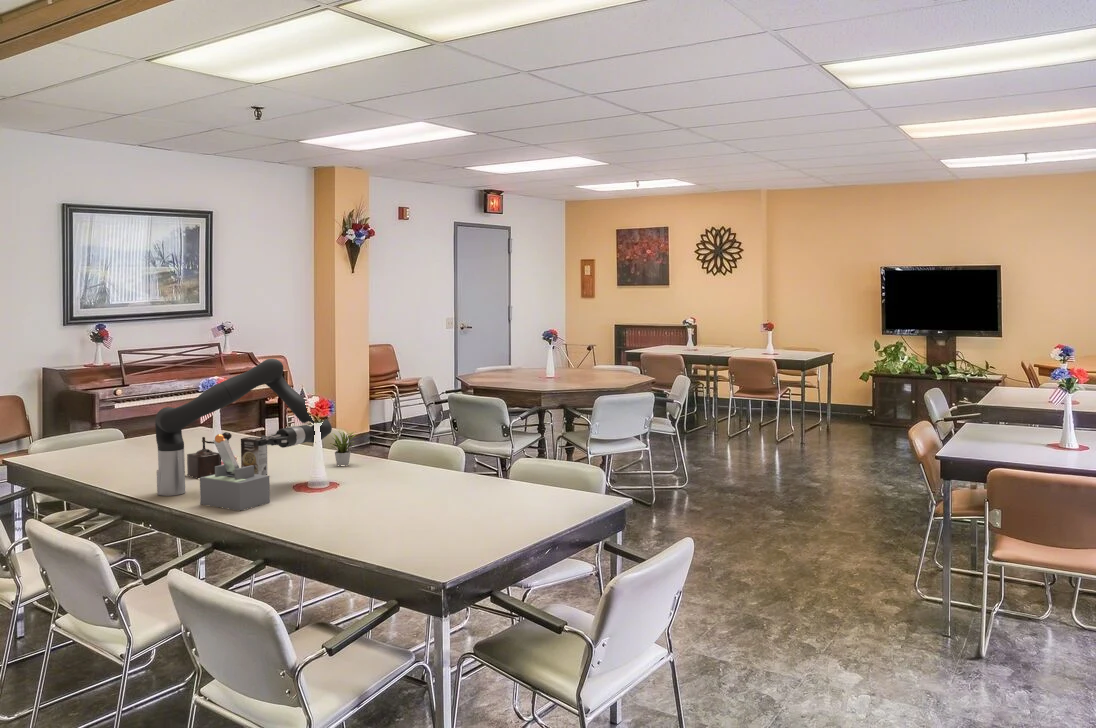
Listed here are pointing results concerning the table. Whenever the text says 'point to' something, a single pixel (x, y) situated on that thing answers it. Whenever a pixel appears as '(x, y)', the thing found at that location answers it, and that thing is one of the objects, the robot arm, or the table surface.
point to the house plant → (342, 449)
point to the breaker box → (235, 488)
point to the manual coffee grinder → (204, 460)
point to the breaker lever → (226, 454)
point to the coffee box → (254, 455)
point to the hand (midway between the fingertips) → (257, 443)
